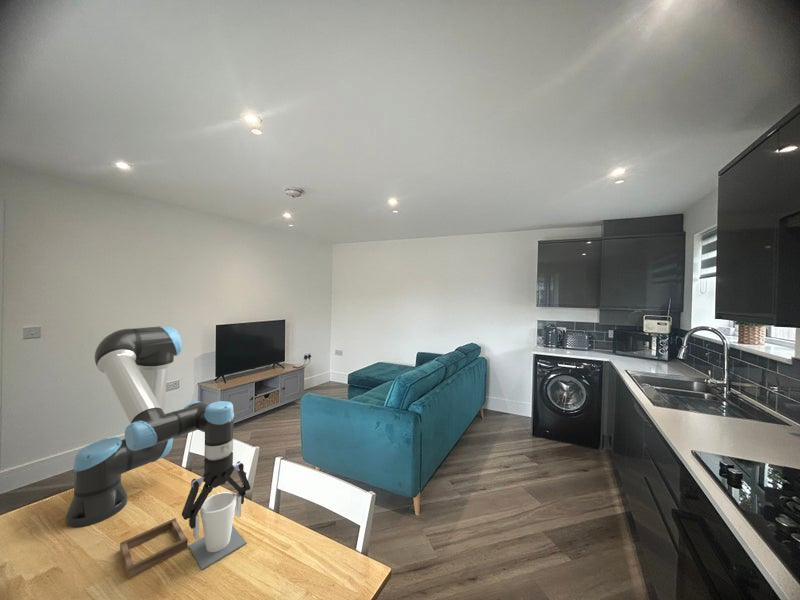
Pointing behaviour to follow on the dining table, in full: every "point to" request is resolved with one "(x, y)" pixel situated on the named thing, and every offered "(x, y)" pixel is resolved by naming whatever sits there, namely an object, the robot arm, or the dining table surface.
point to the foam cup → (218, 520)
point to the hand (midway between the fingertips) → (217, 525)
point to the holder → (157, 557)
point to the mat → (209, 558)
